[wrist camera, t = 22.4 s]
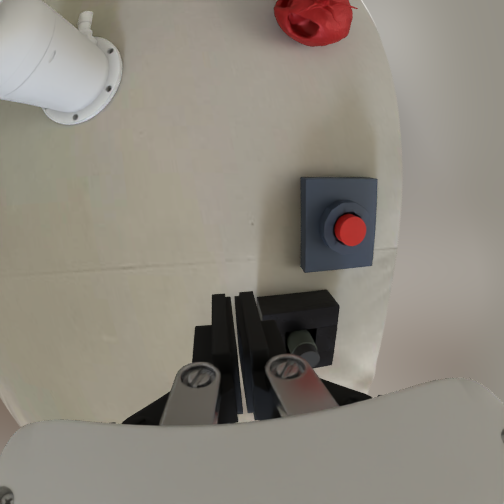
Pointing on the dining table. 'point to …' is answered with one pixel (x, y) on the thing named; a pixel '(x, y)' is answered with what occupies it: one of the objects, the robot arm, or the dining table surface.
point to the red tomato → (314, 20)
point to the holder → (304, 318)
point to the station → (325, 217)
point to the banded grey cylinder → (303, 346)
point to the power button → (350, 229)
